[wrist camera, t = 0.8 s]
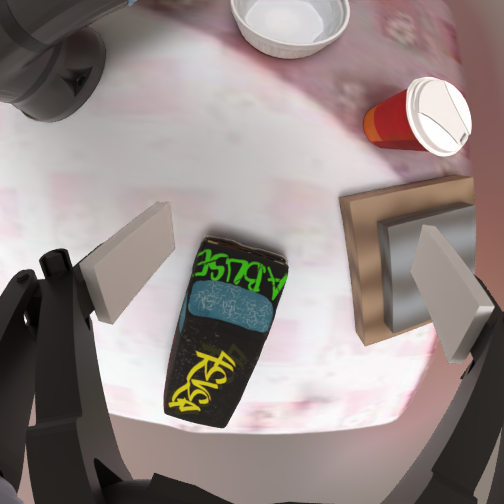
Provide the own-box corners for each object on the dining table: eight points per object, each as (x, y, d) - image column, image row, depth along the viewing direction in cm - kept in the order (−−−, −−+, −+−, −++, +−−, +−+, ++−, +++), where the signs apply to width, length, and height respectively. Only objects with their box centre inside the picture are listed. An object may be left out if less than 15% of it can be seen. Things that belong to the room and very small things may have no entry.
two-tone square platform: (338, 197, 35) (359, 205, 28) (456, 174, 34) (486, 179, 28) (355, 331, 41) (372, 358, 34) (458, 294, 40) (482, 312, 33)
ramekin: (278, -24, 26) (284, -52, 19) (353, 30, 28) (372, 9, 22) (210, 27, 28) (204, 1, 22) (290, 86, 31) (301, 69, 24)
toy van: (287, 251, 37) (302, 281, 27) (231, 391, 44) (230, 438, 34) (206, 226, 36) (192, 248, 26) (167, 374, 42) (153, 419, 33)
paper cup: (415, 130, 32) (484, 122, 19) (384, 168, 34) (451, 174, 21) (376, 87, 31) (437, 58, 17) (342, 124, 32) (397, 105, 19)
